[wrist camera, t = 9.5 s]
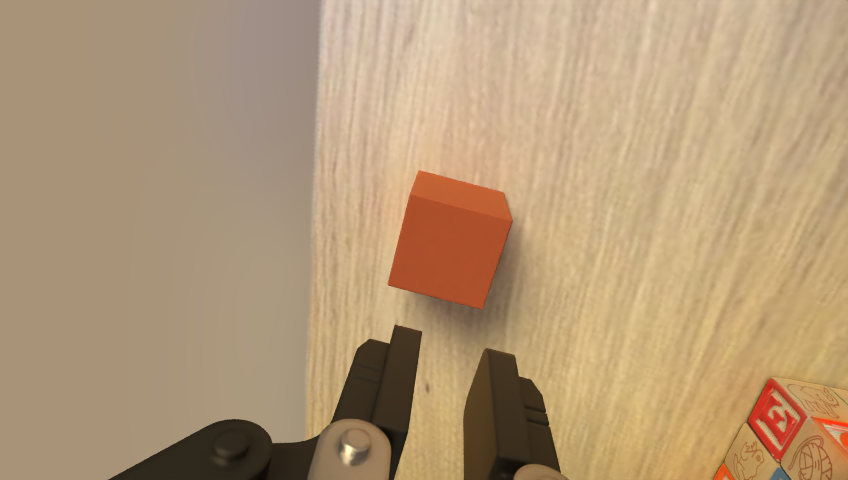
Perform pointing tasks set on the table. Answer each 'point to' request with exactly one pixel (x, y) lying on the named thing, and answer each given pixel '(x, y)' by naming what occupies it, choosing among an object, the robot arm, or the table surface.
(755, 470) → the stack of blocks
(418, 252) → the block
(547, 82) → the table surface
